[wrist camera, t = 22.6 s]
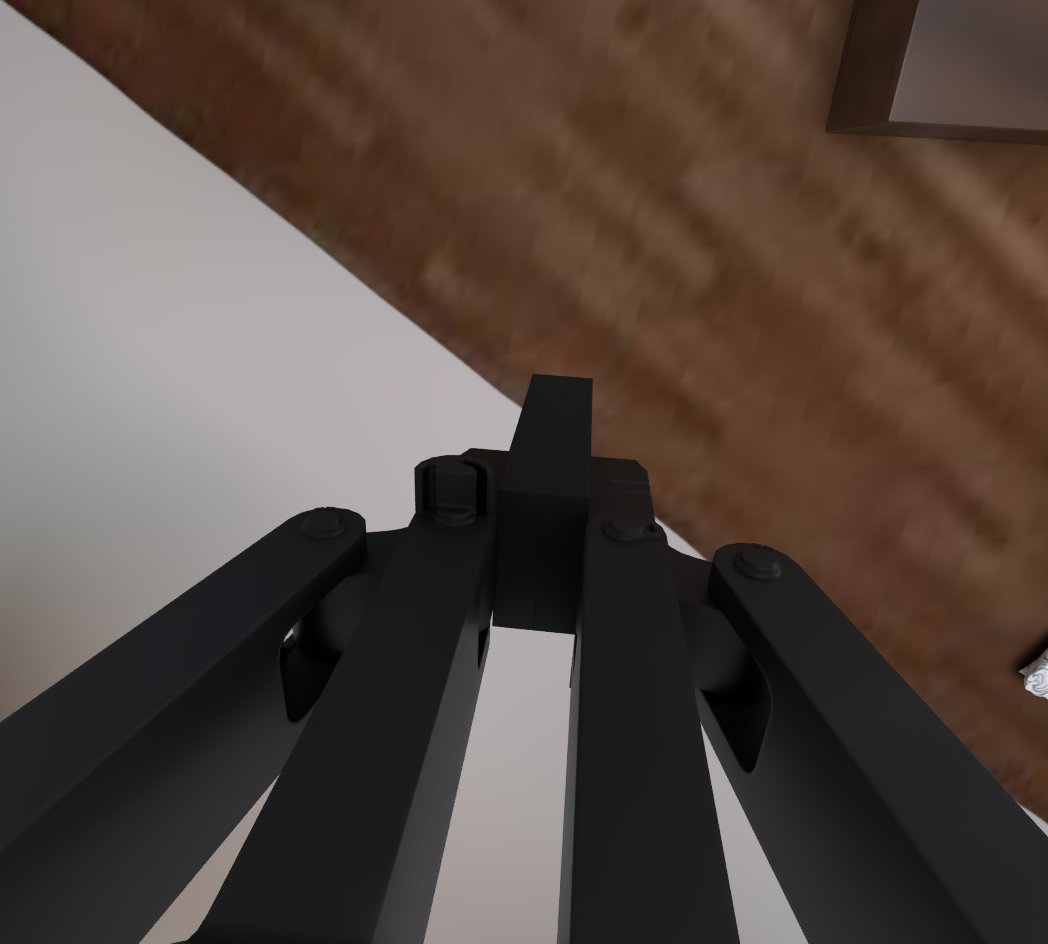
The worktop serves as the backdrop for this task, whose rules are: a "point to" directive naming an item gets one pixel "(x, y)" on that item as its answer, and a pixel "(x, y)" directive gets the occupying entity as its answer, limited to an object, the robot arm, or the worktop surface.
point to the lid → (973, 66)
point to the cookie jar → (1037, 676)
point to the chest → (889, 80)
